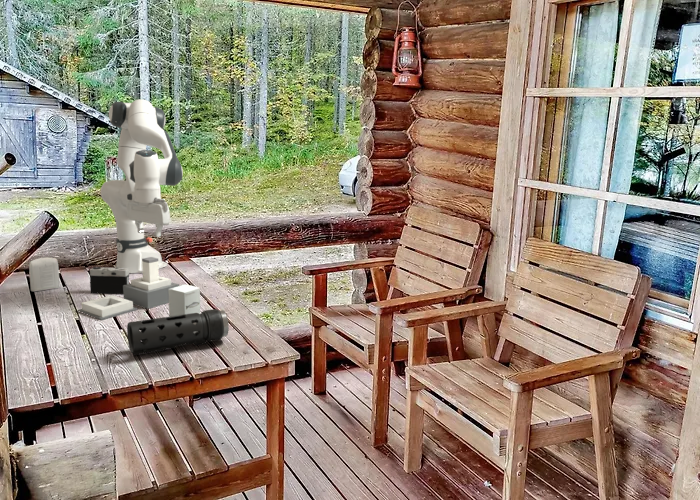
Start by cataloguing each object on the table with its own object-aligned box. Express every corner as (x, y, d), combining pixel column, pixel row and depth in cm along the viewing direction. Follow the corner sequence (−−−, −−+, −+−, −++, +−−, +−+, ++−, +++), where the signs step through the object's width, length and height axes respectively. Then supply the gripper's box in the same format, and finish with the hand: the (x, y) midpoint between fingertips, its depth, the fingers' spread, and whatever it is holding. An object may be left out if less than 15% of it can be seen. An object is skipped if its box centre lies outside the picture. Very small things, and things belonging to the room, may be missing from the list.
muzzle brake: (127, 350, 174) (126, 317, 172) (219, 335, 188) (219, 304, 186) (134, 362, 166) (132, 327, 164) (230, 345, 180) (229, 313, 178)
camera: (135, 289, 232) (133, 264, 230) (124, 296, 223) (123, 270, 221) (101, 287, 233) (99, 262, 231) (89, 294, 224) (87, 268, 222)
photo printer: (57, 285, 233) (55, 255, 231) (61, 288, 230) (59, 257, 228) (29, 290, 226) (26, 258, 224) (32, 292, 223) (30, 261, 221)
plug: (152, 282, 221) (151, 256, 218) (159, 284, 218) (158, 258, 216) (143, 285, 217) (142, 258, 215) (150, 287, 215) (149, 260, 213)
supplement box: (184, 329, 191) (183, 292, 188) (168, 325, 195) (167, 288, 192) (201, 323, 198) (200, 287, 195) (185, 319, 201) (184, 283, 198)
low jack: (113, 301, 216) (112, 293, 215) (137, 309, 208) (136, 301, 208) (77, 311, 205) (76, 303, 204) (101, 320, 197) (101, 311, 196)
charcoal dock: (155, 292, 229) (154, 272, 227) (179, 299, 221) (178, 279, 219) (123, 301, 217) (122, 280, 216) (148, 308, 210) (147, 287, 208)
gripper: (174, 198, 208) (175, 237, 210) (137, 193, 219) (139, 229, 222) (159, 200, 202) (160, 239, 205) (122, 194, 214) (124, 232, 217)
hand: (149, 234), depth 214 cm, fingers open, 8 cm apart
